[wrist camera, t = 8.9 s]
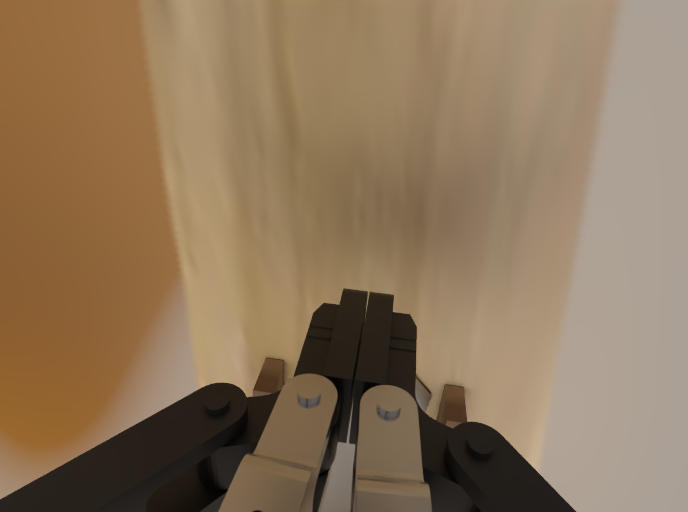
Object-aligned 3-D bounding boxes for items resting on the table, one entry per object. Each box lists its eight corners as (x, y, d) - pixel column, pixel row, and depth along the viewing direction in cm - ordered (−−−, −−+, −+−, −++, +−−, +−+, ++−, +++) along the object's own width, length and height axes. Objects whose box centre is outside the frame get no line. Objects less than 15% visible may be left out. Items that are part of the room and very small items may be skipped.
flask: (347, 323, 25) (309, 499, 17) (455, 391, 27) (470, 587, 18) (279, 398, 29) (218, 575, 20) (377, 455, 30) (359, 645, 22)
